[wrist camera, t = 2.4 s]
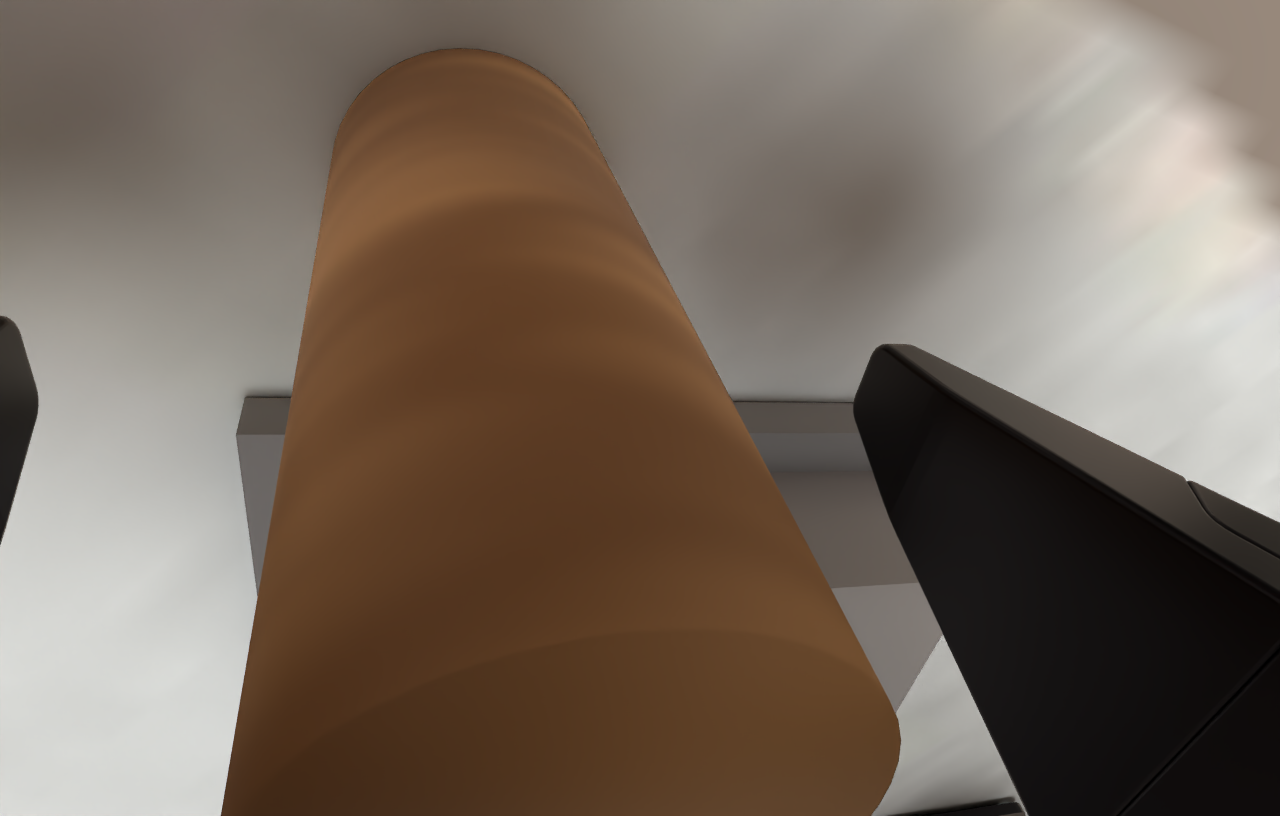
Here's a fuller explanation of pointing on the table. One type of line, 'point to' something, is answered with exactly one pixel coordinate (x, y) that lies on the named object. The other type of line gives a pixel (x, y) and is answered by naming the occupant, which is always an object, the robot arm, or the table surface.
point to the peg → (527, 507)
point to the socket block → (811, 487)
